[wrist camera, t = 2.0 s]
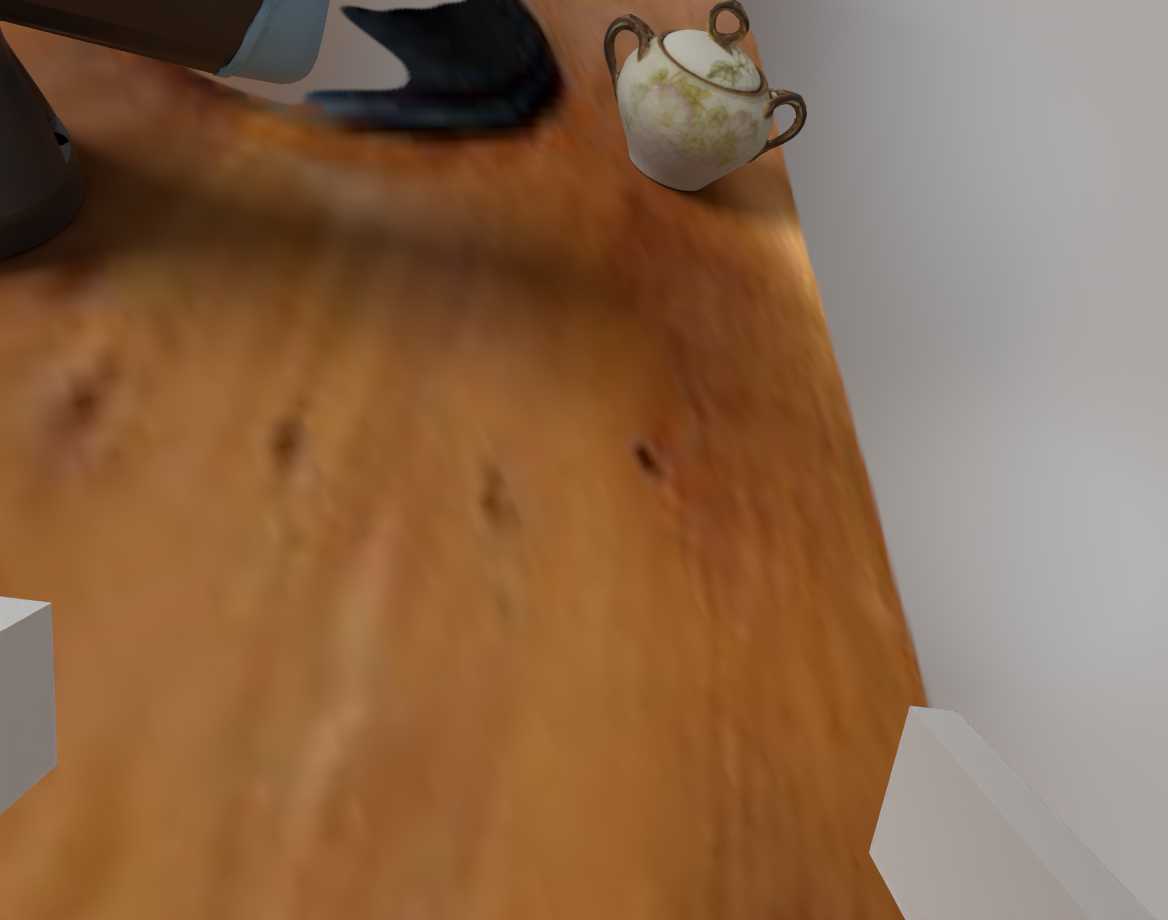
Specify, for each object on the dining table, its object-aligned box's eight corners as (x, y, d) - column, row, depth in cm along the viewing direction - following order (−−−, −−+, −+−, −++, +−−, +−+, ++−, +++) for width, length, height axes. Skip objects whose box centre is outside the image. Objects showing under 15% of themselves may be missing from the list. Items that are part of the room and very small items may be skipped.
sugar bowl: (555, 153, 61) (615, -32, 50) (593, 94, 71) (651, -71, 59) (746, 245, 63) (846, 88, 51) (758, 176, 72) (843, 31, 61)
